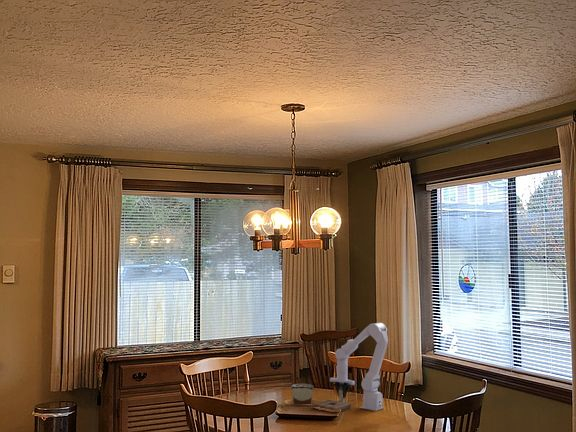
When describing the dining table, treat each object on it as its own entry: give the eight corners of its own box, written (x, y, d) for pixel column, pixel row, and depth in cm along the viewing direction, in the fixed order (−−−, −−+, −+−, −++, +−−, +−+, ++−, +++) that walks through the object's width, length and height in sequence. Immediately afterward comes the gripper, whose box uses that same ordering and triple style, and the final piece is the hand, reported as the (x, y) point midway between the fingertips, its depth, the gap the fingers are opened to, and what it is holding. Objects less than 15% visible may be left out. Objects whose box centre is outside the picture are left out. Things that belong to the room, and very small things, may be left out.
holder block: (350, 408, 310) (350, 403, 310) (335, 413, 299) (335, 408, 299) (328, 404, 318) (328, 399, 319) (312, 408, 307) (312, 403, 308)
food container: (314, 403, 321) (314, 384, 322) (313, 405, 315) (314, 386, 316) (291, 402, 323) (291, 383, 324) (290, 404, 316) (290, 385, 317)
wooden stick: (345, 402, 322) (345, 387, 322) (342, 403, 320) (342, 388, 320) (341, 402, 323) (341, 387, 324) (338, 403, 321) (338, 387, 322)
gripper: (326, 370, 324) (326, 396, 323) (349, 373, 315) (349, 400, 314) (334, 369, 330) (333, 394, 329) (356, 372, 321) (356, 398, 320)
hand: (342, 397), depth 322 cm, fingers closed on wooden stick, 2 cm apart
